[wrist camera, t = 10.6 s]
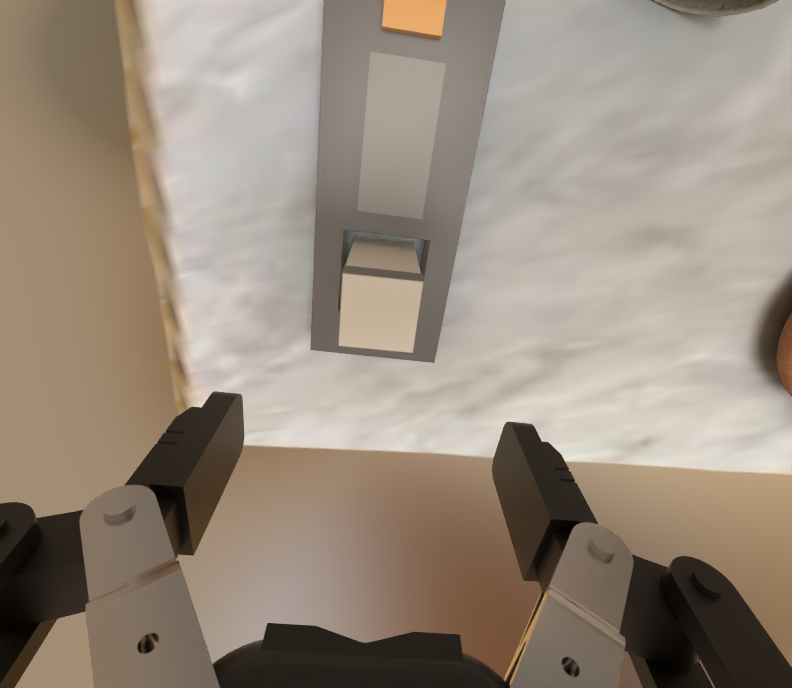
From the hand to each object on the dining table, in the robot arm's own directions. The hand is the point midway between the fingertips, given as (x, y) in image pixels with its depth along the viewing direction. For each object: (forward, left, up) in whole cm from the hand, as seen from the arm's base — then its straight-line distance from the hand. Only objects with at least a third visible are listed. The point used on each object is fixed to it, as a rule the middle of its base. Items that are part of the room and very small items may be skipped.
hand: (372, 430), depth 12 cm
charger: (0, 0, -19) cm, 19 cm away
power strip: (-8, 0, -18) cm, 20 cm away
